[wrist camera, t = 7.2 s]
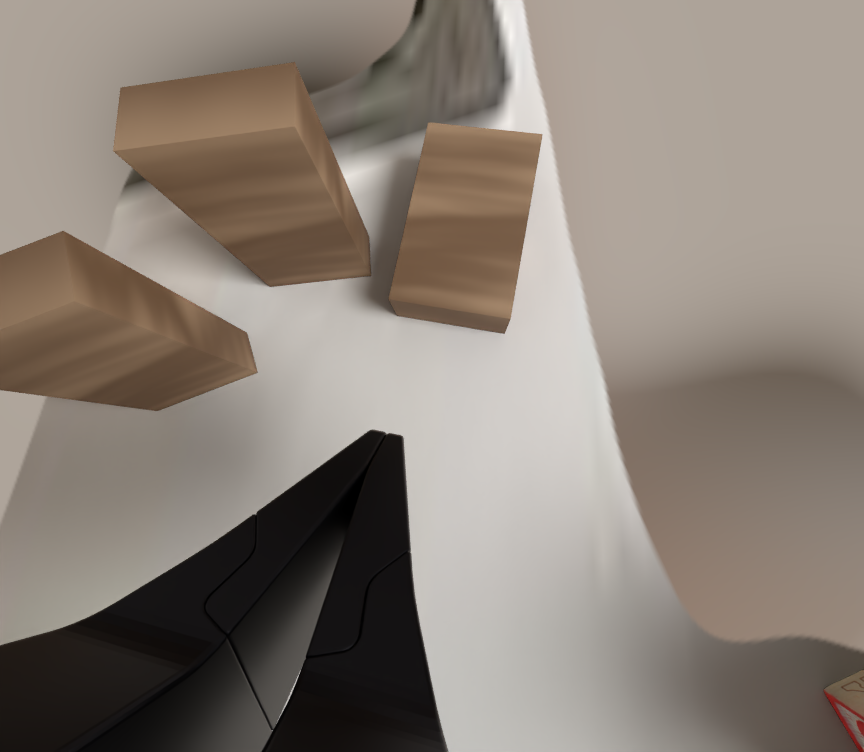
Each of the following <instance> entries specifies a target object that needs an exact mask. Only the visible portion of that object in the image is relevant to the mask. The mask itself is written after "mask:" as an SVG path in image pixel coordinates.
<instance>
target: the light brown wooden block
mask: <svg viewBox="0 0 864 752" xmlns="http://www.w3.org/2000/svg"><path fill="white" fill-rule="evenodd" d="M113 151H114V152H115V153H116V154H117V155H118V156H119V157H121V158H122V159H123V160H124V161H125V162H126V163H128V164H129V165H130V166H131V167H132V168H133V169H135V170H136V171H137V172H138V173H139V174H140V175H141V176H143V177H144V178H145V179H146V180H147V181H148V182H150V183H151V184H152V185H153V186H154V187H155V188H156V189H158V190H159V191H160V192H161V193H162V194H163V195H165V196H166V197H167V198H168V199H169V200H170V201H172V202H173V203H174V204H175V205H176V206H177V207H178V208H180V209H181V210H182V211H183V212H184V213H185V214H187V215H188V216H189V217H190V218H191V219H192V220H193V221H195V222H196V223H197V224H198V225H199V226H200V227H202V228H203V229H204V230H205V231H206V232H207V233H209V234H210V235H211V236H212V237H213V238H214V239H215V240H217V241H218V242H219V243H220V244H221V245H222V246H224V247H225V248H226V249H227V250H228V251H229V252H230V253H232V254H233V255H234V256H235V257H236V258H237V259H239V260H240V261H241V262H242V263H243V264H244V265H246V266H247V267H248V268H249V269H250V270H251V271H252V272H254V273H255V274H256V275H257V276H258V277H259V278H261V279H262V280H263V281H264V282H265V283H266V284H267V285H269V286H270V287H274V286H283V285H292V284H301V283H310V282H319V281H328V280H337V279H346V278H355V277H364V276H371V265H370V244H369V235H368V233H367V231H366V228H365V226H364V224H363V221H362V219H361V217H360V214H359V212H358V210H357V207H356V205H355V203H354V200H353V198H352V195H351V193H350V191H349V188H348V186H347V184H346V181H345V179H344V177H343V174H342V172H341V170H340V167H339V165H338V163H337V160H336V158H335V156H334V153H333V151H332V149H331V146H330V144H329V142H328V139H327V137H326V135H325V132H324V130H323V128H322V125H321V123H320V120H319V118H318V116H317V113H316V111H315V109H314V106H313V104H312V102H311V99H310V97H309V95H308V93H307V90H306V88H305V85H304V83H303V81H302V78H301V76H300V74H299V71H298V69H297V67H296V64H295V62H293V63H286V64H279V65H272V66H265V67H259V68H253V69H245V70H239V71H231V72H224V73H217V74H211V75H204V76H197V77H190V78H184V79H177V80H170V81H163V82H156V83H150V84H142V85H136V86H129V87H122V88H121V89H120V97H119V106H118V115H117V123H116V131H115V140H114V149H113Z"/></svg>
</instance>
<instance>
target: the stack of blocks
mask: <svg viewBox="0 0 864 752" xmlns="http://www.w3.org/2000/svg"><path fill="white" fill-rule="evenodd" d="M824 693H825V695H826V696H827V698H828V699H829V701H830V703H831V705H832V706H833V708H834V709H835V711H836V713H837V715H838V716H839V718H840V720H841V721H842V723H843V725H844V726H845V728H846V730H847V731H848V733H849V735H850V736H851V738H852V740H853V741H854V743H855V745H856V746H857V748H858V750H859V751H860V752H864V670H862V671H859V672H857V673H855V674H853V675H851V676H849V677H847V678H844V679H842V680H840V681H838V682H836V683H834V684H832V685H830V686H828V687H826V688H825V689H824Z"/></svg>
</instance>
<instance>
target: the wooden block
mask: <svg viewBox="0 0 864 752" xmlns="http://www.w3.org/2000/svg"><path fill="white" fill-rule="evenodd" d="M541 140H542V134H534V133H524V132H515V131H505V130H496V129H486V128H476V127H467V126H457V125H448V124H438V123H428V126H427V131H426V135H425V139H424V144H423V148H422V153H421V157H420V162H419V166H418V170H417V175H416V179H415V184H414V188H413V192H412V197H411V201H410V206H409V210H408V215H407V219H406V223H405V228H404V232H403V237H402V241H401V246H400V250H399V254H398V259H397V263H396V268H395V272H394V276H393V281H392V285H391V290H390V294H389V299H388V300H389V301H390V303H391V305H392V307H393V309H394V311H395V312H396V314H397V316H402V317H408V318H414V319H420V320H426V321H432V322H438V323H444V324H450V325H456V326H462V327H468V328H474V329H480V330H486V331H492V332H498V333H504V334H505V331H506V329H507V326H508V324H509V321H510V318H511V312H512V307H513V301H514V295H515V289H516V284H517V278H518V272H519V266H520V261H521V255H522V249H523V243H524V238H525V232H526V226H527V220H528V215H529V209H530V203H531V197H532V192H533V186H534V180H535V174H536V169H537V163H538V157H539V151H540V146H541Z"/></svg>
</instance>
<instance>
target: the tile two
mask: <svg viewBox="0 0 864 752" xmlns="http://www.w3.org/2000/svg"><path fill="white" fill-rule="evenodd" d="M255 373H258V372H257V368H256V364H255V361H254V357H253V353H252V350H251V346H250V342H249V339H248V335H247V333H246V332H245V331H243V330H241V329H239V328H237V327H236V326H234V325H232V324H230V323H228V322H227V321H225V320H223V319H221V318H219V317H217V316H216V315H214V314H212V313H210V312H208V311H207V310H205V309H203V308H201V307H199V306H198V305H196V304H194V303H192V302H190V301H189V300H187V299H185V298H183V297H181V296H180V295H178V294H176V293H174V292H172V291H171V290H169V289H167V288H165V287H163V286H162V285H160V284H158V283H156V282H154V281H153V280H151V279H149V278H147V277H145V276H144V275H142V274H140V273H138V272H136V271H135V270H133V269H131V268H129V267H127V266H126V265H124V264H122V263H120V262H118V261H117V260H115V259H113V258H111V257H109V256H108V255H106V254H104V253H102V252H100V251H99V250H97V249H95V248H93V247H91V246H89V245H88V244H86V243H84V242H82V241H81V240H79V239H77V238H75V237H73V236H72V235H70V234H68V233H66V232H64V231H62V232H59V233H56V234H54V235H51V236H49V237H46V238H43V239H41V240H38V241H36V242H33V243H30V244H28V245H25V246H22V247H20V248H17V249H15V250H12V251H9V252H7V253H4V254H2V255H0V390H4V391H12V392H19V393H27V394H34V395H42V396H49V397H57V398H64V399H72V400H79V401H87V402H94V403H102V404H109V405H117V406H124V407H132V408H139V409H146V410H154V411H159V410H161V409H164V408H166V407H169V406H172V405H174V404H177V403H180V402H182V401H185V400H187V399H190V398H193V397H195V396H198V395H200V394H203V393H206V392H208V391H211V390H213V389H216V388H219V387H221V386H224V385H226V384H229V383H232V382H234V381H237V380H240V379H242V378H245V377H247V376H250V375H253V374H255Z"/></svg>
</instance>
